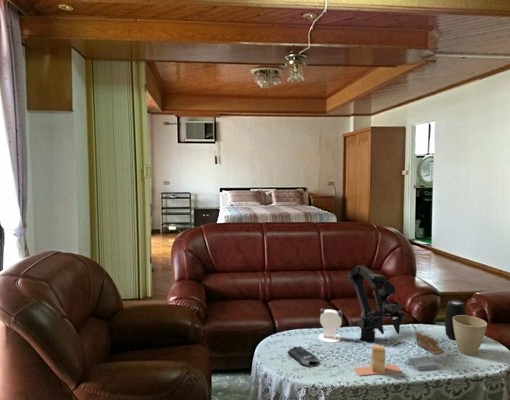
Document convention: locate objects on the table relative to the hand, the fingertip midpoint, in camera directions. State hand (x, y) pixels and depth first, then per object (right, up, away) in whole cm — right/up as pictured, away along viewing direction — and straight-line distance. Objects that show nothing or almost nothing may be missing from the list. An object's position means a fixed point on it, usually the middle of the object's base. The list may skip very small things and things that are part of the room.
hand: (390, 333), depth 194 cm
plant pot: (+41, -12, +9) cm, 44 cm away
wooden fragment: (+25, -12, +20) cm, 34 cm away
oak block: (-9, -13, -9) cm, 18 cm away
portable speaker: (+42, -11, +26) cm, 51 cm away
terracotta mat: (-9, -14, -9) cm, 18 cm away
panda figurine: (-24, -11, +25) cm, 36 cm away
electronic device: (-40, -13, +2) cm, 43 cm away
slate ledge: (+13, -13, -4) cm, 19 cm away
